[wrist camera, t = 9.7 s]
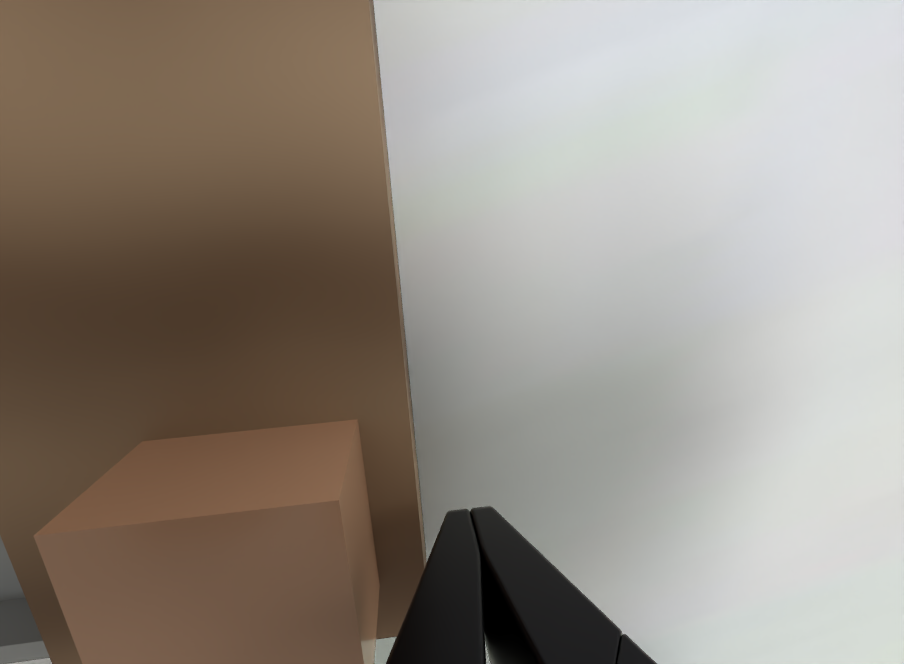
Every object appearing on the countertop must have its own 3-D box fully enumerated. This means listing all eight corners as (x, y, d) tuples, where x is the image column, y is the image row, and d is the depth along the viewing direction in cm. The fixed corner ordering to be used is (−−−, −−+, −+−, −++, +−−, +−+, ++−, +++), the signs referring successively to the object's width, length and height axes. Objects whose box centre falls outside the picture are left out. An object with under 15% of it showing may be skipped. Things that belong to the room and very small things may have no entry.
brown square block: (379, 585, 10) (370, 708, 7) (189, 609, 9) (114, 747, 7) (358, 419, 9) (339, 499, 6) (141, 441, 8) (33, 535, 6)
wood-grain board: (425, 550, 13) (430, 631, 10) (130, 588, 12) (60, 684, 9) (363, -92, 8) (347, -211, 6) (-89, -87, 8) (-307, -219, 5)
